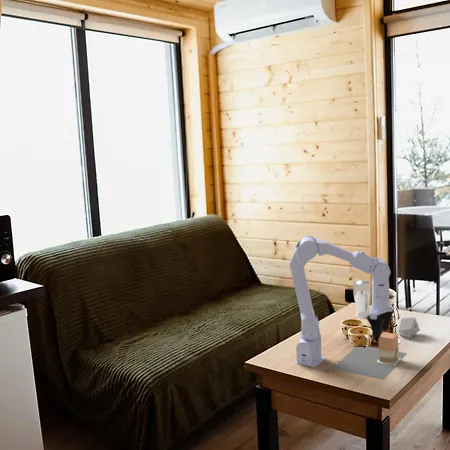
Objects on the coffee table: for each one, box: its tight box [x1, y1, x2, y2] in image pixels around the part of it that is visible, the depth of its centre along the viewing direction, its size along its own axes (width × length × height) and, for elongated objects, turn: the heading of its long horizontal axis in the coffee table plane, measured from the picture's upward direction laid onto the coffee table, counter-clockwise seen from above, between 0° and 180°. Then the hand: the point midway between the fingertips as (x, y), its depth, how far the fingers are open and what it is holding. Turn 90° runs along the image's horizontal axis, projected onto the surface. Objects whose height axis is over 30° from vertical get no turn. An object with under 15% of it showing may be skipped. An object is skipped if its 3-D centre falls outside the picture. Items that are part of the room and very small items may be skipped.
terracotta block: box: [378, 331, 399, 352], centre depth 191 cm, size 5×5×4 cm
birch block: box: [379, 346, 400, 364], centre depth 191 cm, size 5×5×4 cm
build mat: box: [331, 346, 408, 381], centre depth 193 cm, size 24×18×1 cm
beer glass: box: [353, 279, 371, 319], centre depth 239 cm, size 7×7×15 cm
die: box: [395, 314, 421, 339], centre depth 214 cm, size 8×9×10 cm
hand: (380, 333), depth 192 cm, fingers open, 7 cm apart
